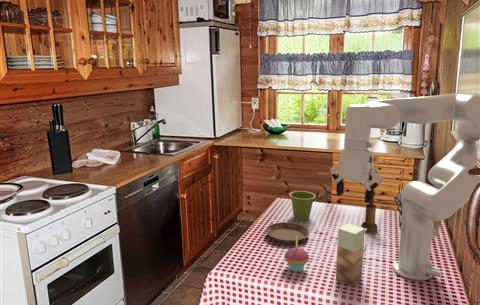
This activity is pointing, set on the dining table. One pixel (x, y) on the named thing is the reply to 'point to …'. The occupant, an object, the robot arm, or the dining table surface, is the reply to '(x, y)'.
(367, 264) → the dining table surface
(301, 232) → the plant saucer
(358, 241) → the sage block
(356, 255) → the tower top
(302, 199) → the plant pot
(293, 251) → the cupcake
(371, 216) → the brown carved statuette
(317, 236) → the dining table surface
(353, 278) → the tower base
